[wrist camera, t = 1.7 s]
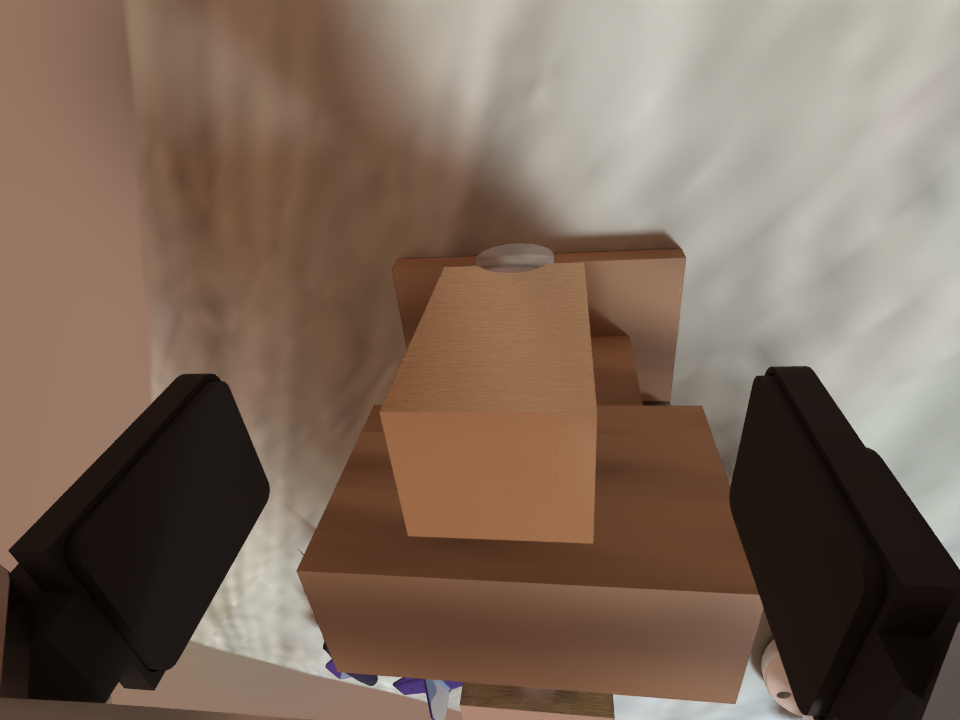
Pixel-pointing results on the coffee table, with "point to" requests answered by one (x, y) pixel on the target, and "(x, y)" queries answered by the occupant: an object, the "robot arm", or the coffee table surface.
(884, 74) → the coffee table surface
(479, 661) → the bearing block
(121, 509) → the robot arm
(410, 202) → the coffee table surface
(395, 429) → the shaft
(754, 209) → the coffee table surface
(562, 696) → the square wooden ring
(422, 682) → the toy airplane
